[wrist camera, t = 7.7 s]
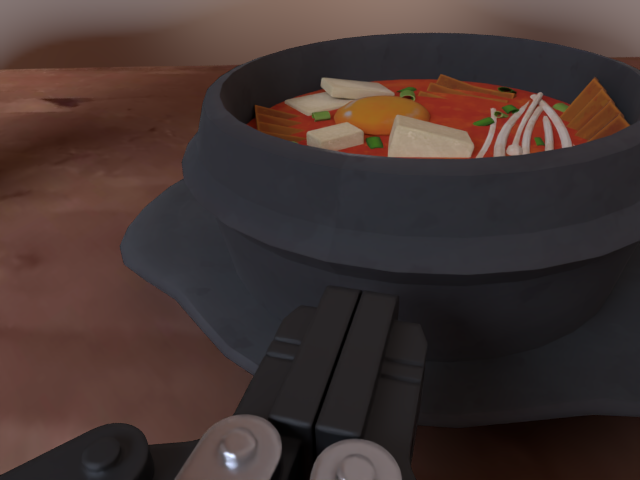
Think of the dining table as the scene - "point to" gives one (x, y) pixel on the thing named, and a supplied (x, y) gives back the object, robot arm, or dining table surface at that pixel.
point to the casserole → (422, 213)
